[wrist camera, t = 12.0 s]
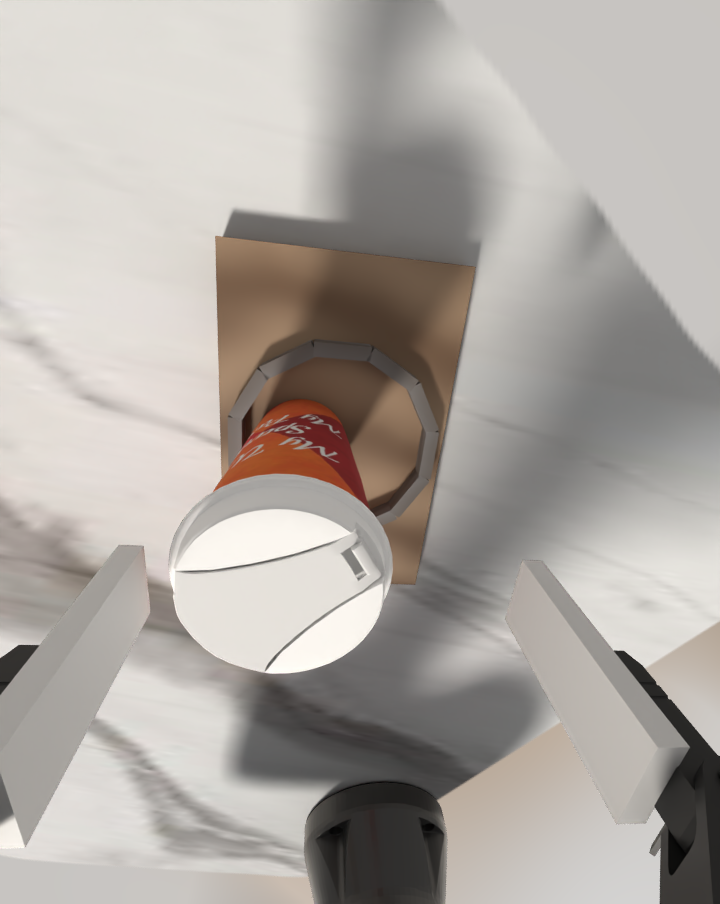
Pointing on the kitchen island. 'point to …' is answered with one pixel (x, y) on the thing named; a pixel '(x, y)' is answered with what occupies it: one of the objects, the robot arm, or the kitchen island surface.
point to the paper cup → (283, 549)
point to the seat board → (346, 363)
